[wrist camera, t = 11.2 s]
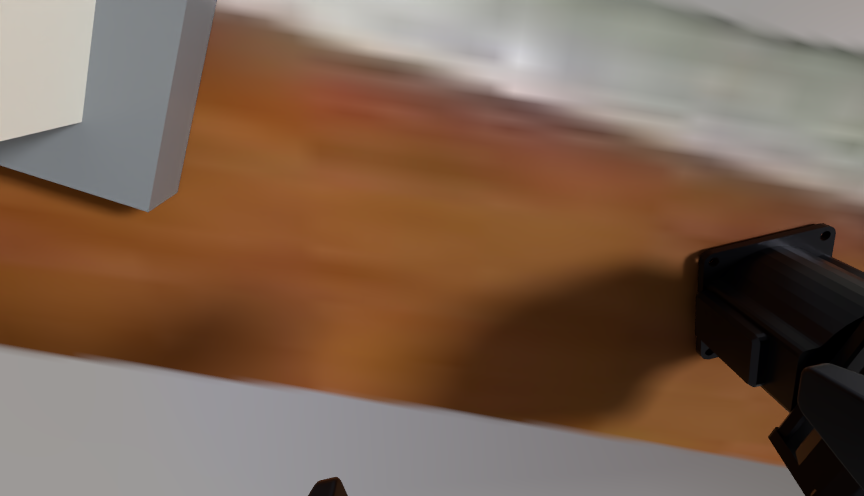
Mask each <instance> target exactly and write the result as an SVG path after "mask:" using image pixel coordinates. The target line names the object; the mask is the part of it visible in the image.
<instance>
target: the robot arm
mask: <svg viewBox="0 0 864 496" xmlns="http://www.w3.org/2000/svg"><path fill="white" fill-rule="evenodd" d="M822 233H823V234H822ZM821 234H822V235H821ZM835 234H836V231H835V229H834V228H833V227H831V226H829V225H826V224H824V223H822V224H816V225H812V226H808V227H803V228H799V229H795V230H791V231H786V232H782V233H778V234H774V235H769V236H765V237H761V238H757V239H753V240H748V241H744V242H740V243H736V244H731V245H727V246H723V247H719V248H715V249H710V250H707V251H705V252H704V253H703V254H702V255H701V256H700V258H699V270H698V294H697V296H696V319H695V335H696V336H697V337H696V351H697V353H698V354H699V355H700V356H701V357H702V358H703V359H712V358H716V357H719V358H720V359H721V360H722V361H724V362H725V363H726V364H727V365H728V366H729V367H730V368H731V369H732V370H733V371H734V372H735V373H736V374H737V375H738V376H739V377H741V378H742V379H743V380H744V381H745V382H746V383H747V384H749V385H750V386H752V387H757V386H761V387H762V388H763V389H764V390H765V391H766V392H767V393H768V394H770V395H771V396H772V397H773V398H774V399H775V400H776V401H777V402H778V403H779V404H780V405H782V406H783V407H784V408H785V409H786V410H787V411H788V412H789V413H790V414H789V415H788V416H787V417H786V419H785V420H784V421H783V423H782V424H781V425H780V426H779V427H775V429H774V430H773V431H772V433H771V434H770V435H769V436H768V438H769V439H770V441H771V443H772V444H773V446H774V447H775V449H776V450H777V452H778V454H779V455H780V457H781V458H782V460H783V461H784V463H785V465H786V466H787V468H788V469H789V471H790V472H791V474H792V476H793V477H794V479H795V480H796V482H797V483H798V485H799V487H800V488H801V489H802V491H803V493H804V494H805V496H864V272H862V271H860V270H858V269H856V268H854V267H852V266H850V265H848V264H845V263H843V262H841V261H839V260H837V259H835V258H833V257H832V252H833V246H834V240H835ZM712 258H714V259H713V261H712V262H710V263H709V261H710V260H711V259H712ZM707 349H708V350H707ZM308 496H348V495H347V493H346V491H345V489H344V486H343V484H342V482H341V480H340V479H339V478H338V477H333V478H329V479H324V480H320V481H318V482H317V483H316V484H315V485H314V487H313V489H312V490H311V492H310V494H309V495H308Z"/></svg>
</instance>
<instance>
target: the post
mask: <svg viewBox="0 0 864 496" xmlns="http://www.w3.org/2000/svg"><path fill="white" fill-rule="evenodd" d="M95 4H96V0H0V141H4V140H8V139H12V138H17V137H21V136H25V135H29V134H34V133H38V132H42V131H46V130H50V129H55V128H59V127H63V126H67V125H71V124H76V123H80V122H82V117H83V108H84V99H85V91H86V82H87V73H88V65H89V56H90V47H91V39H92V30H93V22H94V13H95Z"/></svg>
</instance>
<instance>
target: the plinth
mask: <svg viewBox="0 0 864 496" xmlns="http://www.w3.org/2000/svg"><path fill="white" fill-rule="evenodd" d="M216 2H217V0H96V4H95V13H94V22H93V30H92V39H91V47H90V56H89V65H88V73H87V82H86V91H85V99H84V108H83V117H82V122H80V123H76V124H71V125H67V126H63V127H59V128H55V129H50V130H46V131H42V132H38V133H34V134H29V135H25V136H21V137H17V138H12V139H8V140H4V141H0V165H1V166H4V167H7V168H10V169H13V170H16V171H20V172H23V173H26V174H29V175H32V176H35V177H39V178H42V179H45V180H48V181H51V182H54V183H58V184H61V185H64V186H67V187H70V188H73V189H77V190H80V191H83V192H86V193H89V194H92V195H96V196H99V197H102V198H105V199H108V200H111V201H115V202H118V203H121V204H124V205H127V206H130V207H134V208H137V209H140V210H143V211H146V212H149V211H151V210H152V209H154V208H155V207H157V206H158V205H160V204H161V203H163V202H164V201H165V200H167V199H168V198H170V197H171V196H173V195H174V194H176V193H177V192H178V187H179V182H180V177H181V172H182V167H183V163H184V158H185V153H186V148H187V143H188V138H189V133H190V128H191V124H192V119H193V114H194V109H195V104H196V99H197V94H198V90H199V85H200V80H201V75H202V70H203V65H204V60H205V55H206V51H207V46H208V41H209V36H210V31H211V26H212V21H213V17H214V12H215V7H216Z"/></svg>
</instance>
